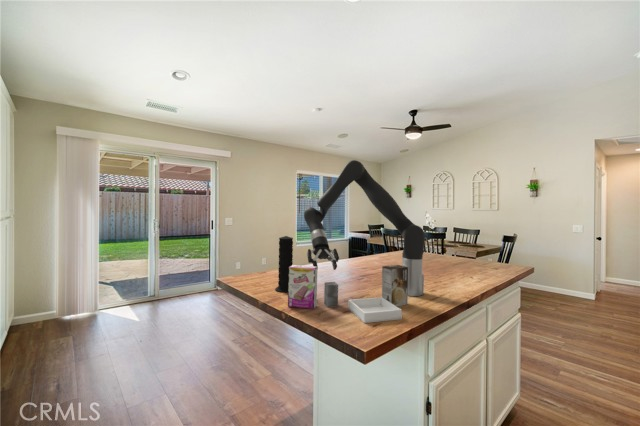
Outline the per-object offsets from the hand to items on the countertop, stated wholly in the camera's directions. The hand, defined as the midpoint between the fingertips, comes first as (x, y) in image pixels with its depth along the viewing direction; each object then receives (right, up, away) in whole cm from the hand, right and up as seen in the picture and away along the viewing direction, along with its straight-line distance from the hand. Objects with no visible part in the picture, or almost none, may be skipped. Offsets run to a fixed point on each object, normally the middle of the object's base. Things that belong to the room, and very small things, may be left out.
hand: (326, 269), depth 123 cm
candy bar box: (-10, -14, -10) cm, 19 cm away
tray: (+18, -14, -16) cm, 28 cm away
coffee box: (+29, -14, -4) cm, 33 cm away
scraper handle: (+2, -14, -7) cm, 15 cm away
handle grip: (-20, -13, +14) cm, 27 cm away
